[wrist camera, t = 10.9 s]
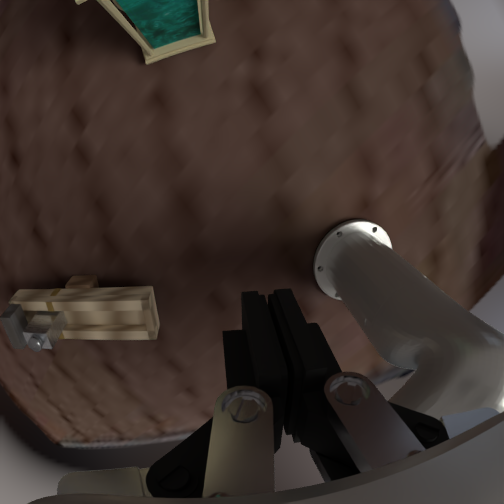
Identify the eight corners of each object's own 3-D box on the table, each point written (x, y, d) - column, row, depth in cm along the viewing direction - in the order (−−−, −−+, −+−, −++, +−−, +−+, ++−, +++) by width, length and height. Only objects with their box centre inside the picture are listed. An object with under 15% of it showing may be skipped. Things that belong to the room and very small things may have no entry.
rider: (62, 308, 35) (43, 338, 29) (67, 322, 36) (49, 354, 30) (40, 307, 35) (19, 337, 29) (45, 321, 36) (26, 351, 30)
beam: (155, 271, 41) (142, 313, 32) (162, 314, 44) (154, 360, 34) (26, 277, 38) (-5, 311, 29) (39, 315, 41) (14, 352, 32)
